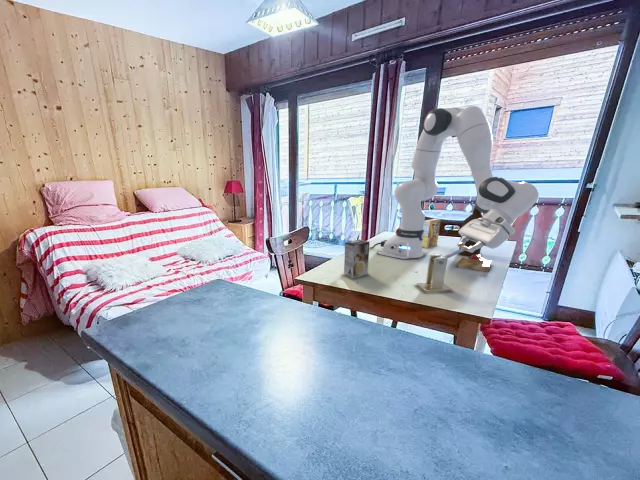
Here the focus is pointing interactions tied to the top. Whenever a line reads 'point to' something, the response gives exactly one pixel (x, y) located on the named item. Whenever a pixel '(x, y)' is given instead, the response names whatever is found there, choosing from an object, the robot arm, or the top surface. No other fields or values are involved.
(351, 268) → the coffee box
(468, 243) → the olive oil
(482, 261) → the button block
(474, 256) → the button
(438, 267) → the bracket
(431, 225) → the candy box
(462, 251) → the lever
